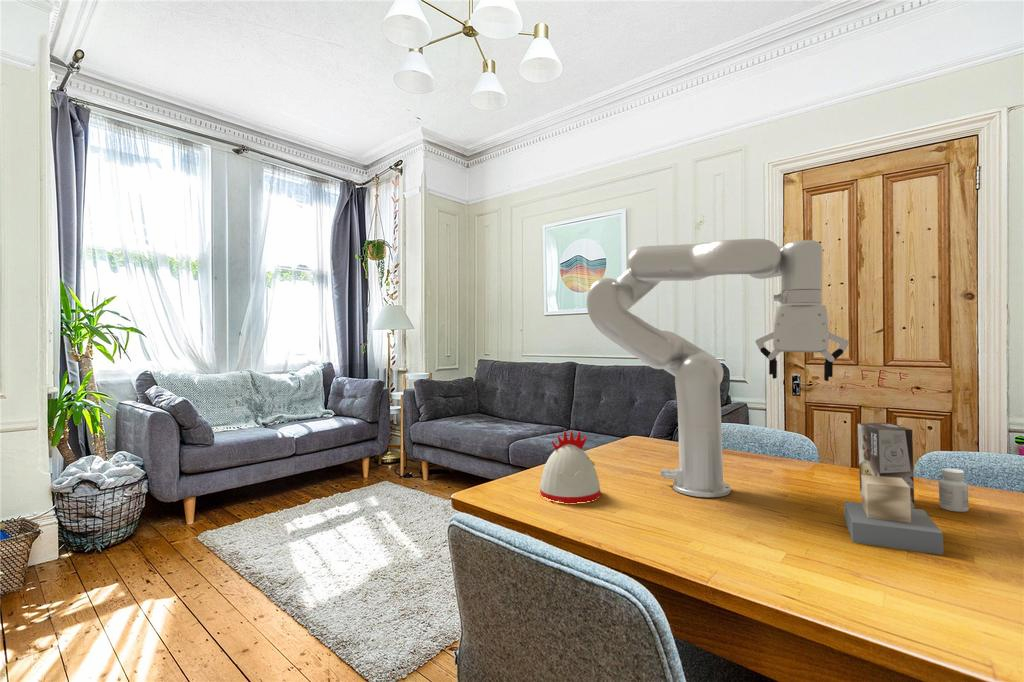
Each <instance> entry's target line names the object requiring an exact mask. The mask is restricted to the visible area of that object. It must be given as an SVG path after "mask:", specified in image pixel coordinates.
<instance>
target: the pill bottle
mask: <svg viewBox="0 0 1024 682" xmlns="http://www.w3.org/2000/svg"><path fill="white" fill-rule="evenodd" d="M965 475H966V474H965V471H964V470H962V469H957V468H949V467H948V468H941V477H942V478H941V479H940V480H939V481H938V495H939V496H938V501H939V507H940V508H941V509H943V510H947V511H950V512H956V513H957V512H958V513H966V512H967V513H968V512H969V508H970V507H969V506H970V505H969V486H968V483H967V482H965V481H964V480H965V478H966V477H965Z"/></svg>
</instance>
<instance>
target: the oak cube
mask: <svg viewBox="0 0 1024 682" xmlns="http://www.w3.org/2000/svg"><path fill="white" fill-rule="evenodd" d="M861 480H862V496H861V503H862V507H863V509H864V511H865V513H866V515H867V517H868V518H875V519H884V520H893V521H901V522H910V523H911V502H910V487H909V486H908V484H907V483H906V482H905V481H904V480H903V479H902V478H895V477H883V476H871V475H861Z"/></svg>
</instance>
